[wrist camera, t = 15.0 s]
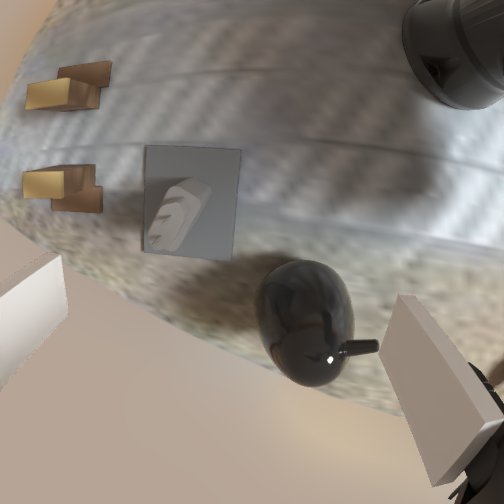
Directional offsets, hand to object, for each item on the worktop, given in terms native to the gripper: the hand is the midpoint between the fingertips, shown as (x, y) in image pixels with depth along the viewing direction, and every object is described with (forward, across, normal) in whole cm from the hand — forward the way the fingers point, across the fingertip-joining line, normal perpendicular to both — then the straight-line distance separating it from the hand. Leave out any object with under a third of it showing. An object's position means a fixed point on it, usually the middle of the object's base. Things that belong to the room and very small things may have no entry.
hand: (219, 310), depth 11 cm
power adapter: (+23, -6, -1) cm, 24 cm away
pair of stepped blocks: (+23, -20, +6) cm, 31 cm away
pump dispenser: (+24, +7, -10) cm, 27 cm away
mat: (+24, -6, -1) cm, 24 cm away
